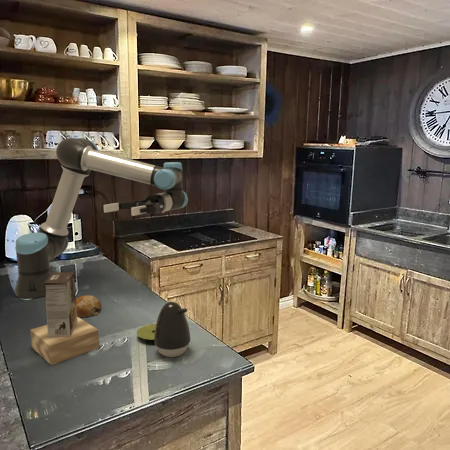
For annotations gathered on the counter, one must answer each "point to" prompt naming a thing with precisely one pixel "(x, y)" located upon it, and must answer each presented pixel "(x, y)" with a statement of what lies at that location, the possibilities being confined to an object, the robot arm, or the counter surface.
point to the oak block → (65, 342)
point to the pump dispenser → (172, 330)
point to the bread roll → (87, 306)
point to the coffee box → (60, 304)
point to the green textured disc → (147, 332)
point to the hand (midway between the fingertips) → (117, 210)
